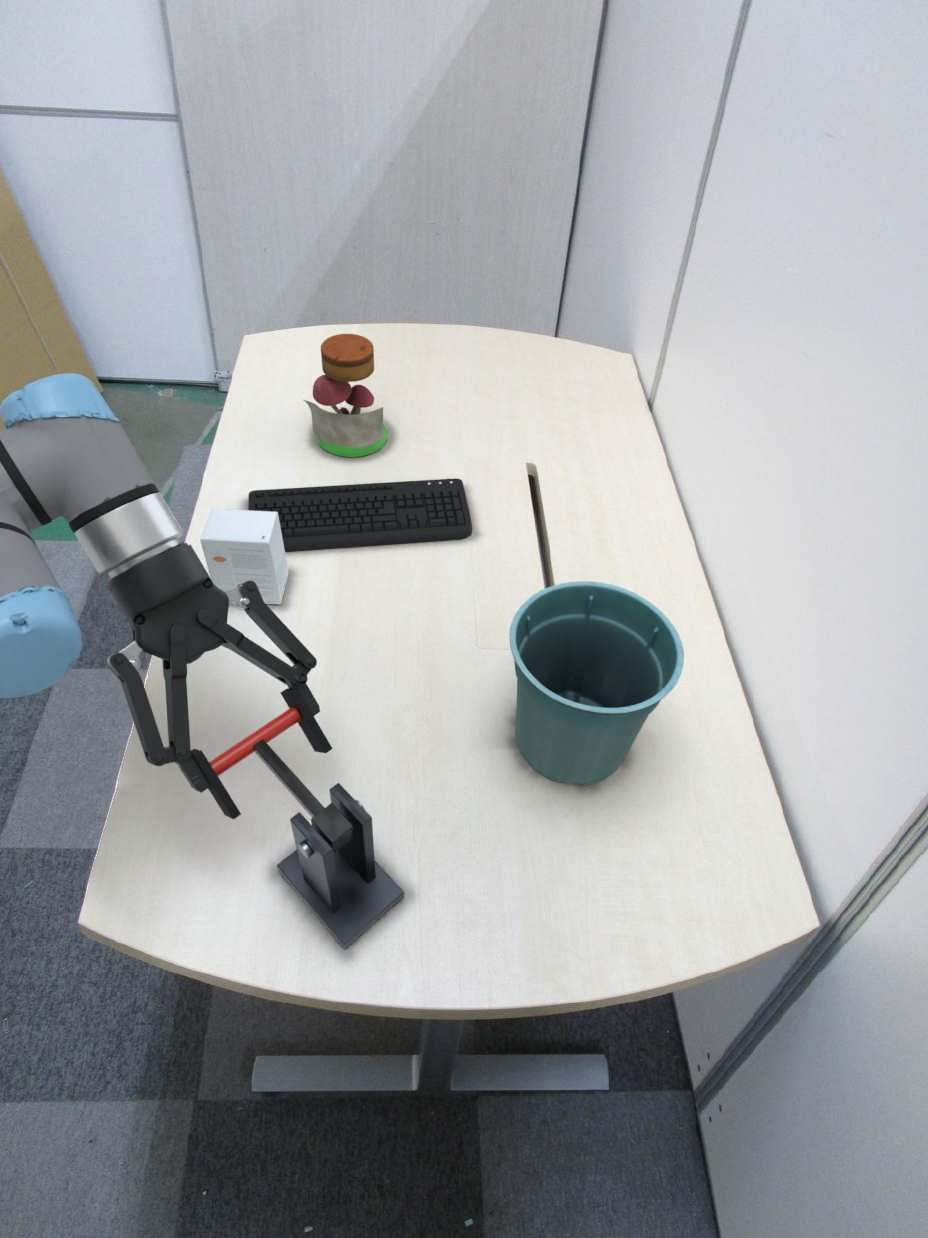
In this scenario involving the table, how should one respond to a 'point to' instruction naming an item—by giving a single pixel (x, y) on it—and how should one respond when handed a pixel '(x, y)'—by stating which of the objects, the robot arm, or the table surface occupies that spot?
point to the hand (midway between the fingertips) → (279, 781)
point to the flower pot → (588, 676)
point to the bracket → (340, 873)
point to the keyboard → (367, 513)
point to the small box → (246, 551)
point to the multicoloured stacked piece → (346, 398)
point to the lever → (288, 778)
